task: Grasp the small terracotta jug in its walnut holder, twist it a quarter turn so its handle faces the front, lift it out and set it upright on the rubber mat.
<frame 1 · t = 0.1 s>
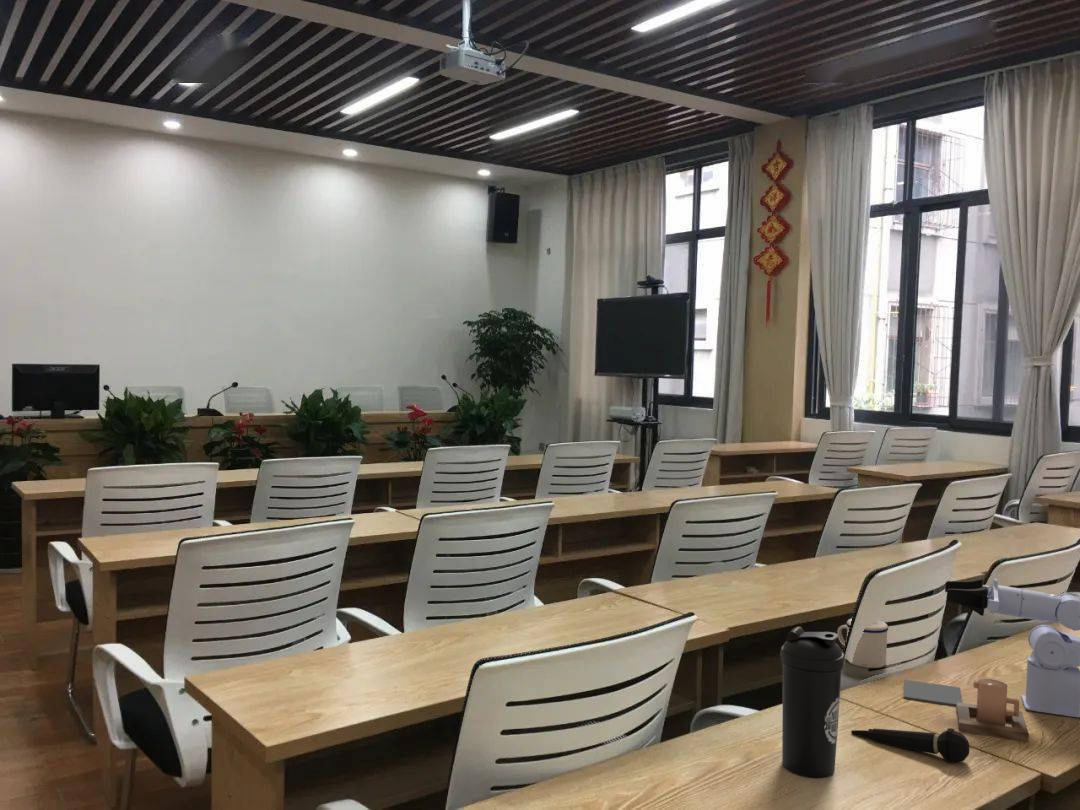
hand: (946, 590, 187), 22 cm above the table, tool horizontal, fingers open, 7 cm apart
water bottle: (808, 767, 151), on the table
rubber mat: (932, 693, 187), on the table
terracotta jug: (995, 704, 170), in the walnut holder
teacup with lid: (860, 661, 207), on the table
microphone: (910, 750, 160), on the table
walnut holder: (990, 724, 171), on the table
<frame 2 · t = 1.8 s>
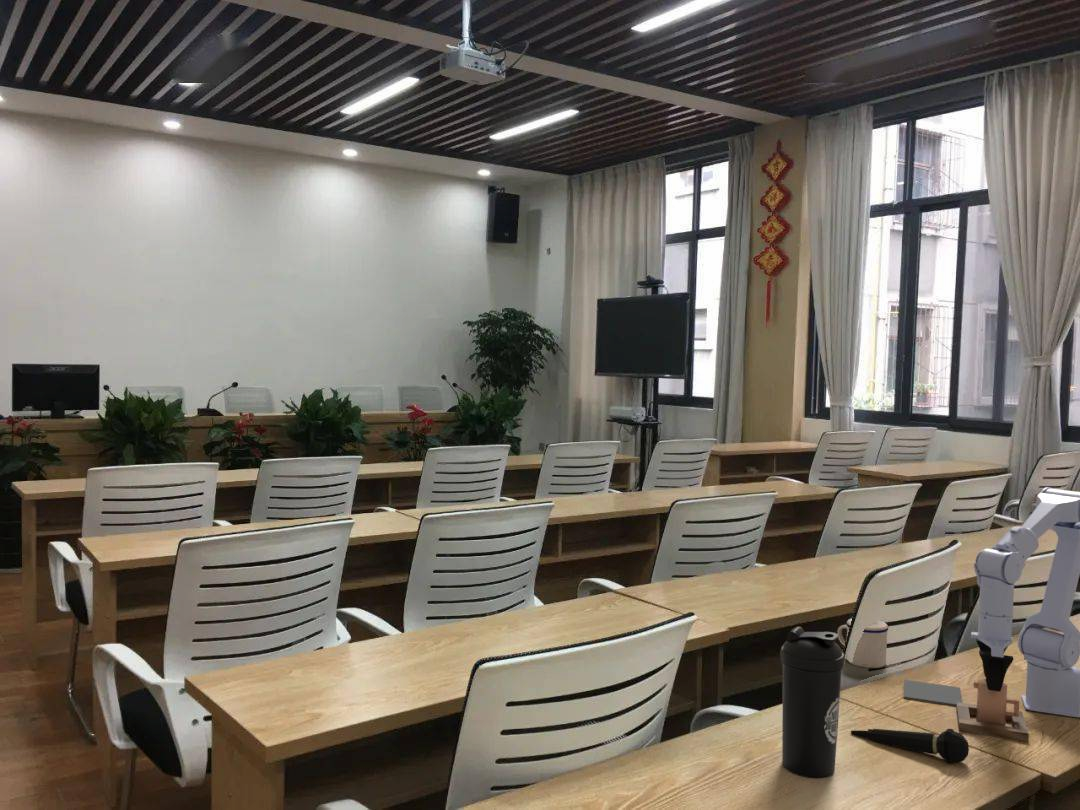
hand: (992, 683, 171), 8 cm above the table, tool pointing down, fingers open, 7 cm apart
nothing on the table moved.
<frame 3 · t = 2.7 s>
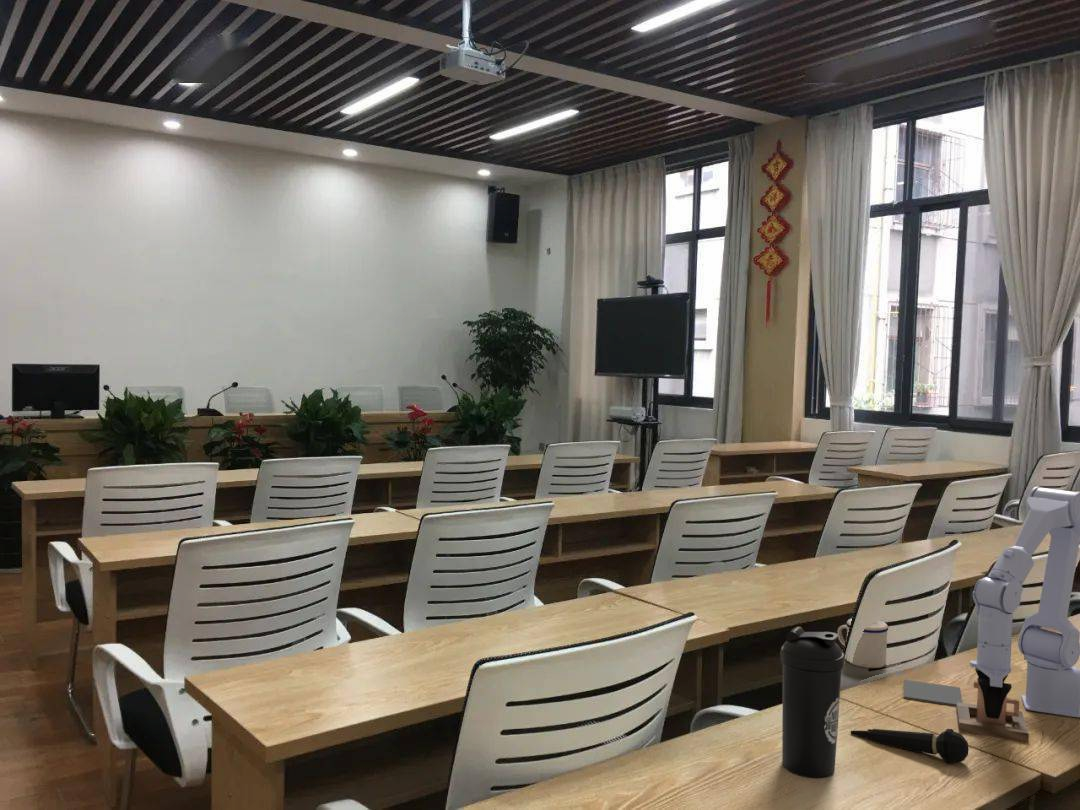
hand: (991, 712, 171), 2 cm above the table, tool pointing down, fingers closed on terracotta jug, 5 cm apart
terracotta jug: (995, 704, 170), in the walnut holder, touching gripper
everything else where it was.
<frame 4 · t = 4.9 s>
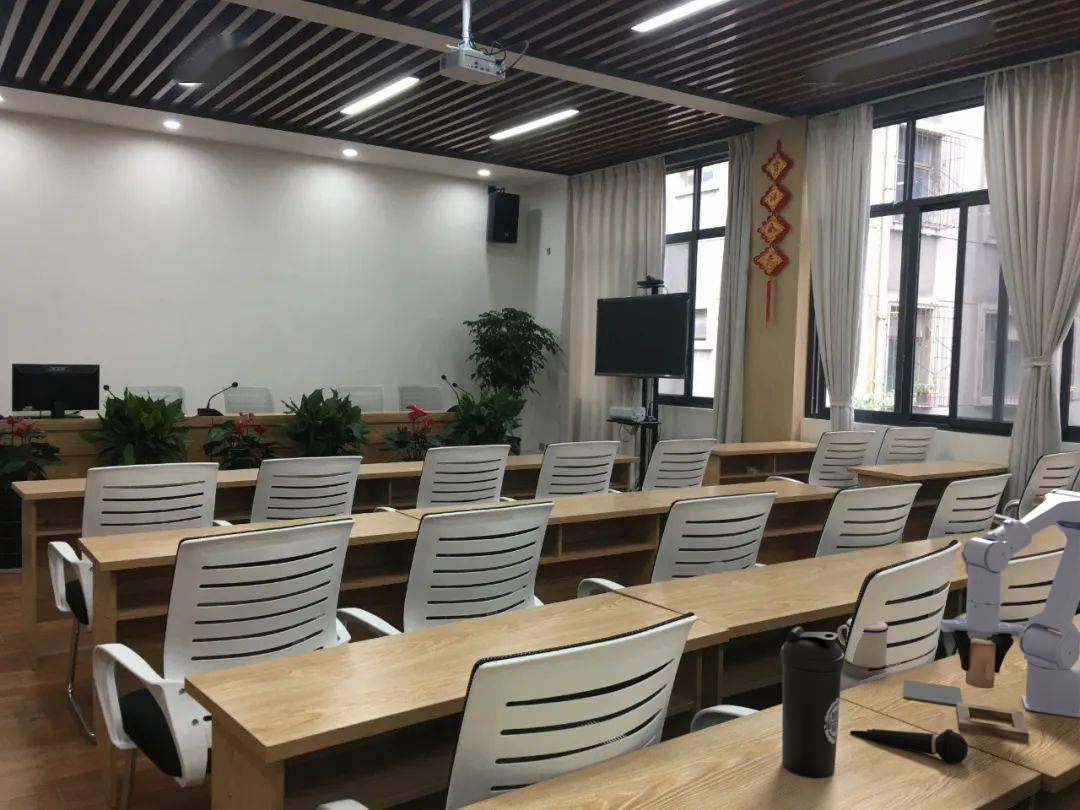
hand: (980, 670, 174), 9 cm above the table, tool pointing down, fingers closed on terracotta jug, 5 cm apart
terracotta jug: (981, 664, 173), point 11 cm above the table, touching gripper
everything else where it was.
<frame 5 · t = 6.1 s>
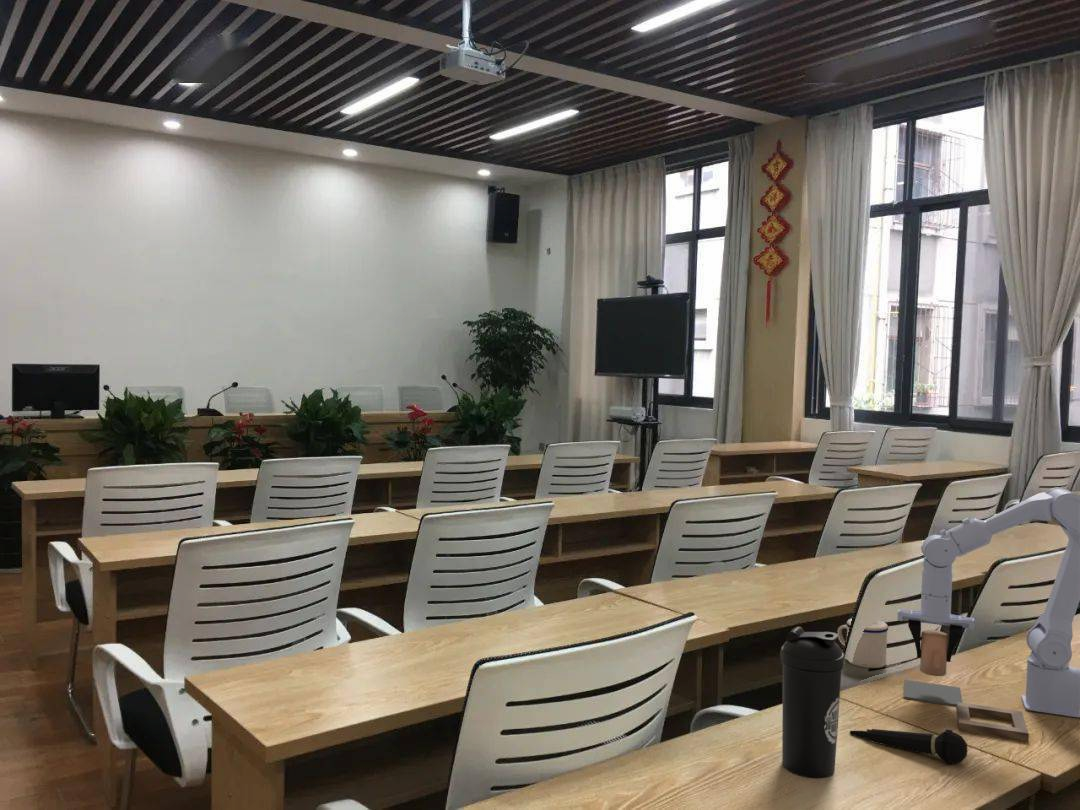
hand: (933, 658, 186), 7 cm above the table, tool pointing down, fingers closed on terracotta jug, 5 cm apart
terracotta jug: (934, 653, 185), point 9 cm above the table, touching gripper
everything else where it was.
when the fingers open (4 cm above the table, at t = 7.1 s): terracotta jug drops 1 cm, resting on rubber mat.
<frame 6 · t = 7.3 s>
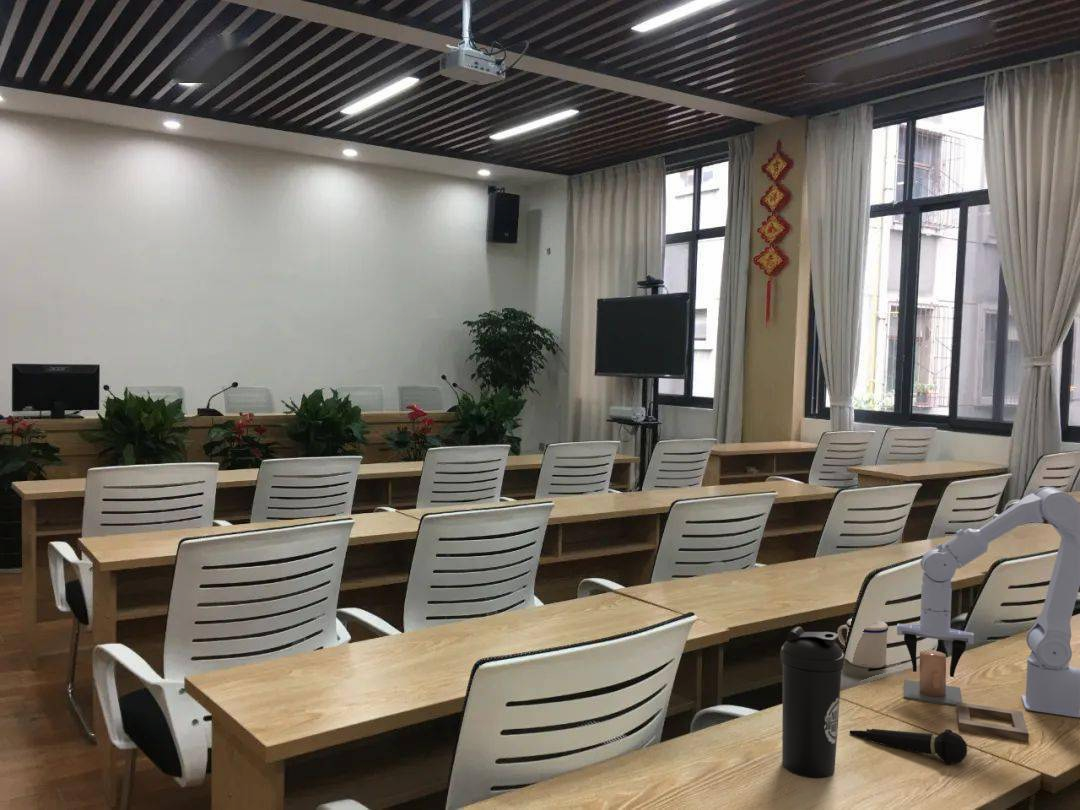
hand: (933, 672, 187), 4 cm above the table, tool pointing down, fingers open, 6 cm apart
terracotta jug: (933, 674, 185), on the rubber mat
everything else where it was.
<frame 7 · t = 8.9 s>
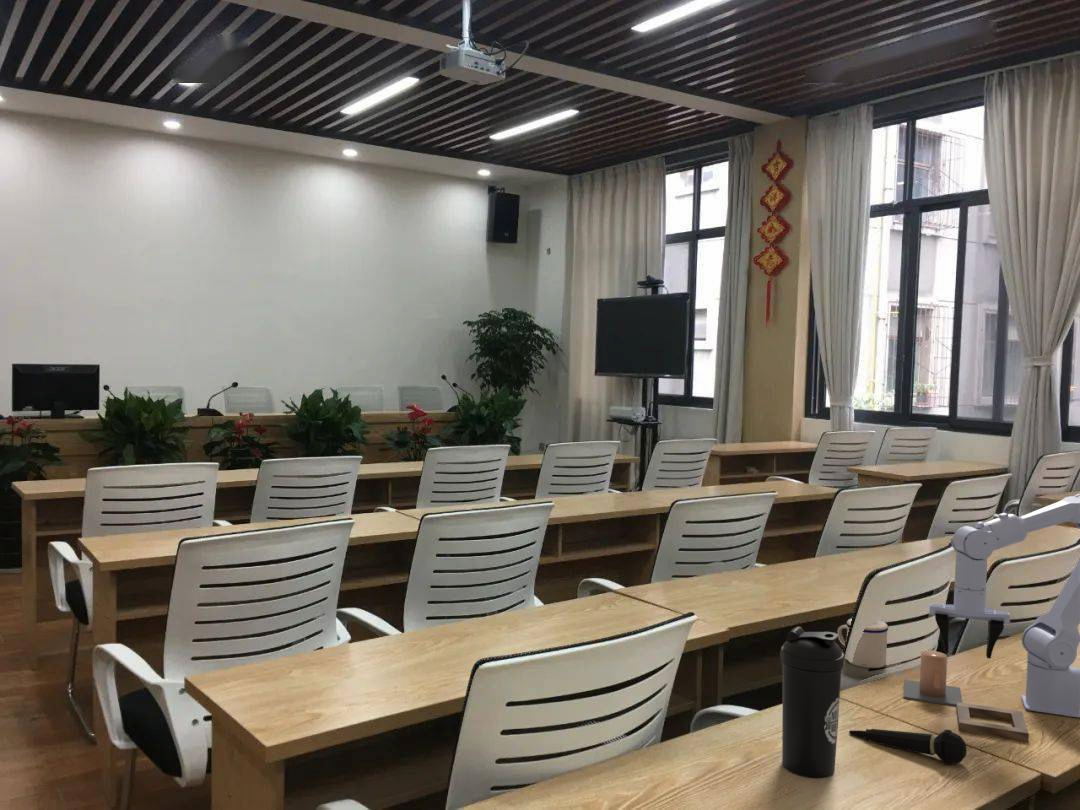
hand: (967, 654, 180), 10 cm above the table, tool pointing down, fingers open, 7 cm apart
nothing on the table moved.
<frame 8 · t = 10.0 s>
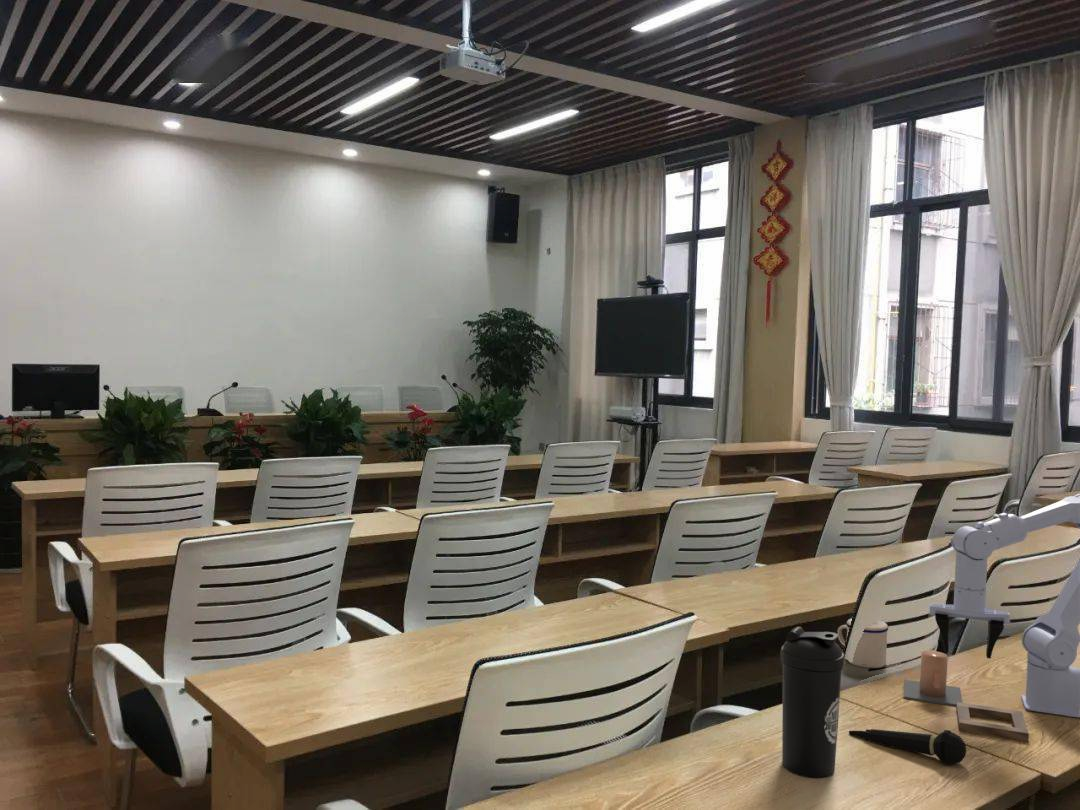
hand: (967, 654, 180), 10 cm above the table, tool pointing down, fingers open, 7 cm apart
nothing on the table moved.
at the end: terracotta jug inside the target area on the rubber mat (0.4 cm from its centre), point 4.4 cm above the rubber mat's base; terracotta jug tilted 1°; the gripper is holding nothing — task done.
